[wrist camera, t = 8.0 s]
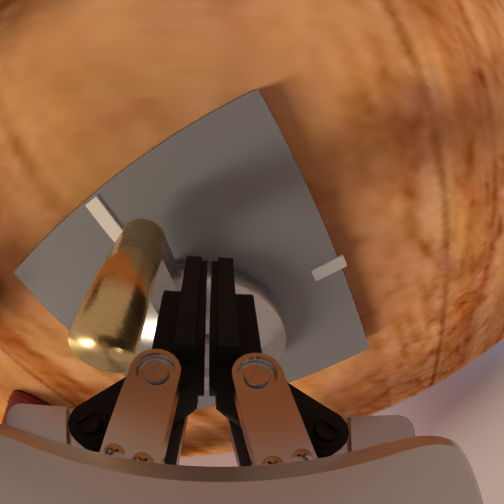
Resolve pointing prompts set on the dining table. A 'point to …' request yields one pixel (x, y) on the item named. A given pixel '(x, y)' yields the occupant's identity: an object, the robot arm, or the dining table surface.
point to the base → (216, 230)
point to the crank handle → (151, 302)
